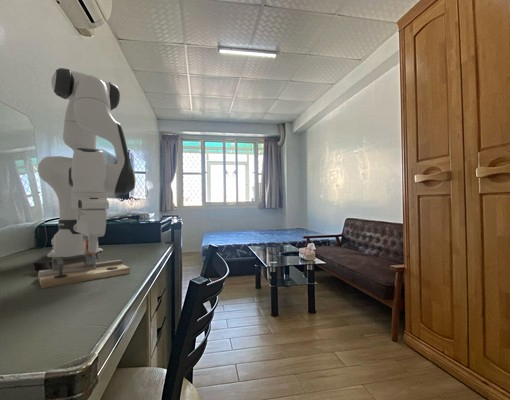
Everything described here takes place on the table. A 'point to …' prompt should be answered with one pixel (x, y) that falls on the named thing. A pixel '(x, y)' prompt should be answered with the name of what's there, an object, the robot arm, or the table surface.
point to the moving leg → (89, 255)
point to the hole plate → (79, 272)
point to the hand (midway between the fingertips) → (89, 250)
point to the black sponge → (67, 262)
